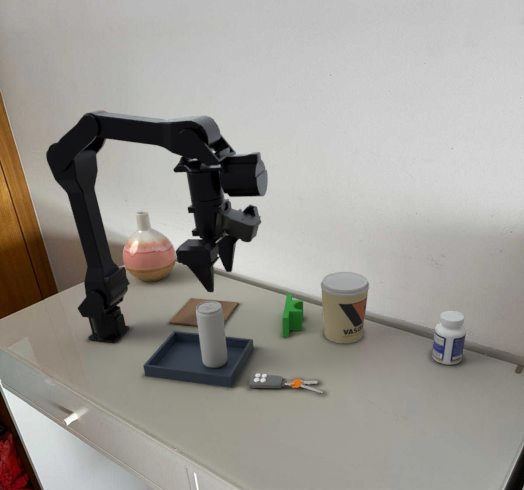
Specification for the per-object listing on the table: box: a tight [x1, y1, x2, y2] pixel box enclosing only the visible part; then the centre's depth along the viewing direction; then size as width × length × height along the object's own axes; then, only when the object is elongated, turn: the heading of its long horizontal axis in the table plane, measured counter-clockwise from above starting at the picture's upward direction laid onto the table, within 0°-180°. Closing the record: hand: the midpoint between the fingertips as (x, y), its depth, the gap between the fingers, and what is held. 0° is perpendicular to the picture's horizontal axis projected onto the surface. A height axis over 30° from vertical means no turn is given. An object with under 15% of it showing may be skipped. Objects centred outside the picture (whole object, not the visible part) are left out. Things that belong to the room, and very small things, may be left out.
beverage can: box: [196, 301, 228, 368], centre depth 92 cm, size 5×5×12 cm
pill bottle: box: [431, 310, 467, 366], centre depth 91 cm, size 5×5×9 cm
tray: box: [142, 330, 255, 388], centre depth 95 cm, size 17×13×2 cm
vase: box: [122, 210, 177, 283], centre depth 129 cm, size 14×14×18 cm
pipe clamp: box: [282, 293, 304, 338], centre depth 106 cm, size 11×4×5 cm, turn 173°
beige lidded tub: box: [320, 271, 370, 344], centre depth 99 cm, size 9×9×12 cm
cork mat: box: [169, 297, 239, 327], centre depth 113 cm, size 12×12×1 cm
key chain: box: [248, 372, 323, 394], centre depth 87 cm, size 13×4×2 cm, turn 80°
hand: (220, 281), depth 92 cm, fingers open, 9 cm apart
